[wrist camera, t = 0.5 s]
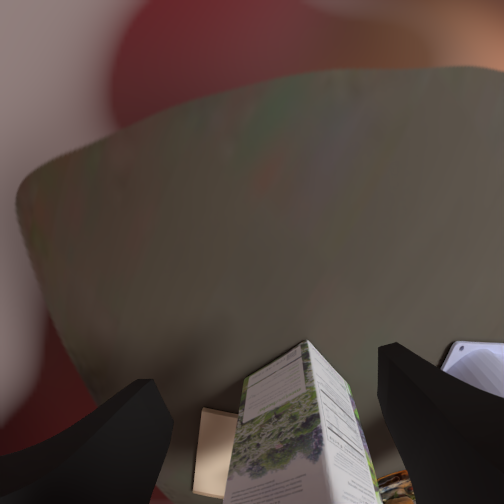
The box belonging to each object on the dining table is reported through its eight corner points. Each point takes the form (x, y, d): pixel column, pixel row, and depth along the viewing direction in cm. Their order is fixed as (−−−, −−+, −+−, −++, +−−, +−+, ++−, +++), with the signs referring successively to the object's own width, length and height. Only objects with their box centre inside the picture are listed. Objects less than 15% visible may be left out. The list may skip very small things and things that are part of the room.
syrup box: (288, 417, 21) (292, 581, 7) (240, 375, 20) (209, 565, 6) (349, 383, 20) (398, 554, 6) (305, 333, 19) (340, 547, 5)
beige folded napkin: (354, 425, 21) (355, 429, 20) (301, 502, 25) (301, 506, 24) (203, 407, 21) (201, 411, 21) (193, 489, 25) (192, 492, 25)
